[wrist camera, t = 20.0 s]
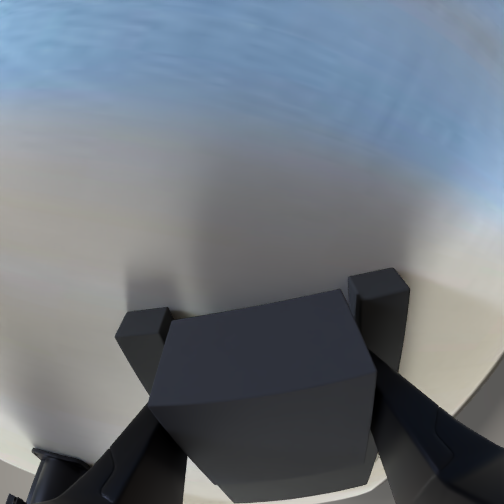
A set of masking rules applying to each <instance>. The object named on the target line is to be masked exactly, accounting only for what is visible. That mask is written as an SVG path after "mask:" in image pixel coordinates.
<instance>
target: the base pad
mask: <svg viewBox="0 0 504 504" xmlns="http://www.w3.org/2000/svg"><path fill="white" fill-rule="evenodd" d="M348 291H349V308H350V310H351V312H352V314H353V316H354V319H355V321H356V323H357V325H358V328H359V330H360V332H361V334H362V337H363V339H364V341H365V343H366V346H367V348H368V349H369V350H371V351H372V352H373V353H374V354H375V355H377V356H378V357H379V358H380V359H382V360H383V361H384V362H385V363H387V364H388V365H389V366H390V367H391V368H393V369H394V370H395V371H396V372H398V370H399V364H400V359H401V353H402V347H403V341H404V335H405V328H406V321H407V313H408V304H409V295H410V288H409V286H408V285H407V284H406V283H405V281H404V280H403V279H402V277H401V276H400V275H399V274H398V272H397V271H396V270H395V269H394V268H388V269H383V270H378V271H374V272H369V273H364V274H359V275H354V276H350V277H349V278H348ZM172 320H173V318H172V315H171V313H170V310H169V308H168V307H163V308H156V309H148V310H141V311H133V312H127V313H126V315H125V317H124V319H123V321H122V323H121V325H120V327H119V329H118V331H117V333H116V335H115V338H116V340H117V342H118V344H119V346H120V348H121V349H122V351H123V353H124V355H125V356H126V358H127V360H128V362H129V363H130V365H131V367H132V368H133V370H134V372H135V373H136V375H137V377H138V378H139V380H140V381H141V383H142V385H143V386H144V388H145V389H146V391H147V392H148V394H149V396H150V394H151V390H152V386H153V383H154V379H155V376H156V372H157V369H158V365H159V362H160V358H161V355H162V352H163V348H164V345H165V342H166V338H167V335H168V332H169V329H170V325H171V322H172ZM377 453H378V450H377V447H376V444H375V441H374V438H373V436H372V433H371V430H370V434H369V440H368V446H367V451H366V457H365V462H364V463H363V464H360V465H356V466H352V467H348V468H344V469H339V470H335V471H330V472H325V473H320V474H315V475H309V476H304V477H297V478H291V479H283V480H275V481H266V482H256V483H243V484H222V485H218V486H219V487H220V488H221V490H222V491H223V492H224V493H225V494H226V495H227V496H228V497H229V498H230V499H231V500H232V502H233V503H253V502H267V501H278V500H287V499H295V498H302V497H309V496H315V495H320V494H326V493H331V492H336V491H341V490H345V489H350V488H354V487H358V486H362V485H366V484H367V482H368V479H369V477H370V474H371V471H372V468H373V465H374V462H375V459H376V456H377Z"/></svg>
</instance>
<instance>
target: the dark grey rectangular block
mask: <svg viewBox="0 0 504 504" xmlns="http://www.w3.org/2000/svg"><path fill="white" fill-rule="evenodd" d="M376 379H377V369H376V367H375V364H374V362H373V360H372V357H371V355H370V353H369V350H368V348H367V346H366V343H365V341H364V339H363V337H362V334H361V332H360V330H359V328H358V325H357V323H356V321H355V319H354V316H353V314H352V312H351V310H350V308H349V306H348V303H347V301H346V299H345V297H344V295H343V293H342V291H341V289H336V290H332V291H327V292H323V293H318V294H313V295H309V296H304V297H299V298H294V299H289V300H284V301H279V302H274V303H269V304H264V305H259V306H253V307H248V308H243V309H237V310H231V311H226V312H220V313H214V314H208V315H202V316H196V317H190V318H184V319H177V320H172V322H171V325H170V329H169V332H168V335H167V338H166V342H165V345H164V348H163V352H162V355H161V358H160V362H159V365H158V369H157V372H156V376H155V379H154V383H153V386H152V390H151V394H150V397H149V401H148V408H149V409H150V410H151V412H152V413H153V414H154V415H155V417H156V418H157V419H158V421H159V422H160V423H161V424H162V426H163V427H164V428H165V430H166V431H167V432H168V433H169V434H170V436H171V437H172V438H173V439H174V440H175V442H176V443H177V444H178V445H179V446H180V448H181V449H182V450H183V451H184V452H185V453H186V455H187V456H188V457H189V458H190V459H191V460H192V461H193V462H194V463H195V465H196V466H197V467H198V468H199V469H200V470H201V471H202V472H203V473H204V474H205V475H206V476H207V477H208V478H209V479H210V481H211V482H212V483H213V484H215V485H222V484H243V483H256V482H266V481H275V480H283V479H291V478H297V477H304V476H309V475H315V474H320V473H325V472H330V471H335V470H339V469H344V468H348V467H352V466H356V465H360V464H363V463H364V462H365V457H366V451H367V446H368V440H369V434H370V427H371V420H372V413H373V405H374V397H375V388H376Z"/></svg>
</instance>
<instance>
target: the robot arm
mask: <svg viewBox="0 0 504 504" xmlns="http://www.w3.org/2000/svg"><path fill="white" fill-rule="evenodd" d="M368 350H369V349H368ZM369 353H370V355H371V357H372V360H373V362H374V364H375V367H376V369H377V379H376V388H375V397H374V405H373V413H372V420H371V427H370V430H371V433H372V436H373V438H374V441H375V444H376V447H377V450H378V452H379V455H380V458H381V461H382V464H383V467H384V470H385V473H386V476H387V479H388V482H389V485H390V487H391V490H392V494H393V497H394V500H395V503H396V504H504V448H502V447H500V446H498V445H496V444H494V443H493V442H491V441H489V440H487V439H486V438H484V437H483V436H481V435H479V434H478V433H476V432H474V431H473V430H471V429H470V428H468V427H466V426H465V425H463V424H462V423H460V422H459V421H458V420H456V419H455V418H454V417H452V416H451V415H450V414H448V413H447V412H446V411H445V410H443V409H442V408H441V407H439V406H438V405H437V404H436V403H435V402H433V401H432V400H431V399H430V398H428V397H427V396H426V395H425V394H423V393H422V392H421V391H420V390H419V389H417V388H416V387H415V386H414V385H412V384H411V383H410V382H409V381H407V380H406V379H405V378H404V377H403V376H401V375H400V374H399V373H398V372H396V371H395V370H394V369H393V368H391V367H390V366H389V365H388V364H387V363H385V362H384V361H383V360H382V359H380V358H379V357H378V356H377V355H375V354H374V353H373V352H372V351H371V350H369ZM32 453H33V454H35V455H36V456H37V457H38V458H39V459H40V460H41V462H40V465H39V467H38V470H37V473H36V475H35V478H34V481H33V483H32V486H31V489H30V492H29V495H28V498H27V501H26V502H24V501H23V500H22V499H20V498H19V497H15V496H13V495H11V494H9V496H8V498H7V501H6V504H182V503H183V493H184V483H185V474H186V465H187V455H186V453H185V452H184V451H183V450H182V449H181V448H180V446H179V445H178V444H177V443H176V442H175V440H174V439H173V438H172V437H171V436H170V434H169V433H168V432H167V431H166V430H165V428H164V427H163V426H162V424H161V423H160V422H159V421H158V419H157V418H156V417H155V415H154V414H153V413H152V412H151V410H150V409H149V408H148V403H147V404H146V405H145V406H144V407H143V409H142V410H141V411H140V412H139V413H138V415H137V416H136V417H135V418H134V419H133V420H132V422H131V423H130V424H129V425H128V426H127V428H126V429H125V430H124V431H123V432H122V433H121V435H120V436H119V437H118V438H117V439H116V440H115V442H114V443H113V444H112V445H111V446H110V449H108V450H107V451H106V452H105V453H104V454H103V455H102V457H101V458H100V459H99V460H98V461H97V462H96V463H95V464H94V465H93V466H92V467H91V468H90V467H89V466H88V465H87V464H85V463H84V462H83V461H81V460H79V459H77V458H72V457H68V456H63V455H59V454H55V453H51V452H47V451H43V450H40V449H36V448H33V449H32Z"/></svg>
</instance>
